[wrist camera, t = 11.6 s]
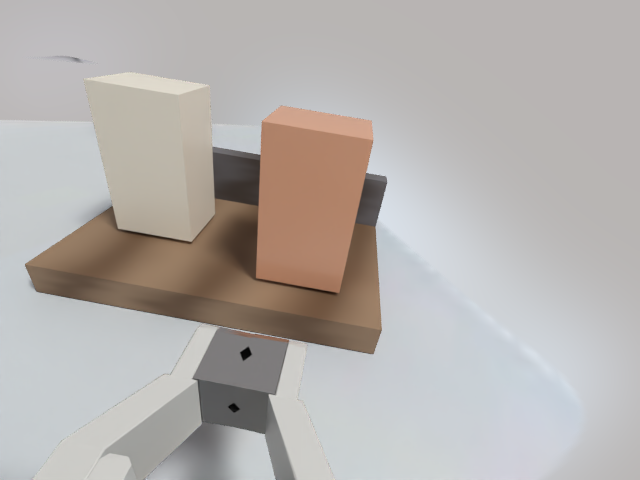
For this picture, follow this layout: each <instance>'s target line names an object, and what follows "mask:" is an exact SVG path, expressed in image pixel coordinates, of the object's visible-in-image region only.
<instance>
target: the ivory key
mask: <svg viewBox="0 0 640 480" xmlns="http://www.w3.org/2000/svg"><path fill="white" fill-rule="evenodd" d="M83 80H84V84H85V89H86V93H87V97H88V101H89V106H90V110H91V114H92V118H93V123H94V127H95V132H96V136H97V140H98V145H99V149H100V153H101V158H102V162H103V166H104V170H105V175H106V179H107V183H108V188H109V192H110V196H111V201H112V205H113V209H114V214H115V218H116V222H117V226H118V229H123V230H129V231H134V232H140V233H145V234H151V235H157V236H162V237H168V238H173V239H179V240H184V241H190V242H192V241H193V240H194V238H195V237H196V236H197V235H198V234H199V233H200V231H201V230H202V229H203V228H204V227H205V226H206V224H207V223H208V222H209V221H210V220H211V218H212V217H213V216H214V215H215V198H214V174H213V151H212V128H211V106H210V86H209V85H204V84H198V83H192V82H186V81H180V80H174V79H168V78H162V77H156V76H150V75H144V74H138V73H133V72H128V73H122V74H114V75H107V76H100V77H93V78H86V79H83Z"/></svg>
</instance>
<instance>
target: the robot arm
mask: <svg viewBox="0 0 640 480" xmlns="http://www.w3.org/2000/svg"><path fill="white" fill-rule="evenodd" d="M306 351H307V344H306V343H301V342H295V341H289V340H287V339H281V338H275V337H270V336H264V335H258V334H250V333H245V332H240V331H236V330H231V329H227V328H222V327H217V326H212V325H207V324H201V325H200V326H199V327H198V328H197V329H196V331H195V333H194V334H193V336H192V338H191V340H190V341H189V343H188V345H187V346H186V348H185V350H184V352H183V353H182V355H181V357H180V358H179V360H178V362H177V364H176V365H175V367H174V369H173V371H172V372H171V374H170V375H169V374H163V375H162V376H160V377H159V378H157V379H156V380H154V381H153V382H151V383H150V384H148V385H146V386H145V387H143V388H142V389H140V390H139V391H137V392H136V393H134V394H133V395H131V396H130V397H128V398H127V399H125V400H123V401H122V402H120V403H119V404H117V405H116V406H114V407H113V408H111V409H110V410H108V411H107V412H105V413H103V414H102V415H100V416H99V417H97V418H96V419H94V420H93V421H91V422H90V423H88V424H87V425H85V426H83V427H82V428H80V429H79V430H77V431H76V432H74V433H73V434H71V435H70V436H68V437H67V438H65V439H63V440H62V441H61V442H60V443H59V445H58V446H57V447H56V449H55V450H54V451H53V453H52V454H51V455H50V457H49V458H48V459H47V461H46V462H45V463H44V465H43V466H42V467H41V468H40V470H39V471H38V472H37V474H36V475H35V476H34V478H33V479H32V480H144V479H145V478H146V477H147V476H148V475H149V474H150V473H151V472H152V471H153V470H154V469H155V468H156V467H157V466H158V465H159V464H161V463H162V462H163V461H164V460H165V459H166V458H167V457H168V456H169V455H170V454H171V453H172V452H173V451H174V450H175V449H176V448H177V447H178V446H179V445H180V444H182V443H183V442H184V441H185V440H186V439H187V438H188V437H189V436H190V435H191V434H192V433H193V432H194V431H195V430H196V429H197V428H198V427H199V426H200V425H201V424H202V422H206V423H212V424H218V425H224V426H230V427H236V428H240V429H244V430H249V431H253V432H258V433H262V434H265V438H266V442H267V446H268V451H269V455H270V459H271V463H272V467H273V471H274V475H275V479H276V480H335V478H334V476H333V473H332V471H331V468H330V466H329V463H328V461H327V459H326V456H325V454H324V451H323V449H322V446H321V444H320V441H319V439H318V437H317V434H316V432H315V429H314V427H313V424H312V422H311V419H310V417H309V414H308V412H307V410H306V407H305V405H304V402H303V401H301V400H298V395H299V390H300V384H301V378H302V373H303V367H304V362H305V356H306Z"/></svg>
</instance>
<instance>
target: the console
mask: <svg viewBox="0 0 640 480" xmlns="http://www.w3.org/2000/svg"><path fill="white" fill-rule="evenodd" d="M212 151H213V174H214V198H215V215H214V216H213V217H212V218H211V220H210V221H209V222H208V223H207V224H206V226H205V227H204V228H203V229H202V230H201V231H200V233H199V234H198V235H197V236H196V237H195V238H194V240H193V241H192V242H190V241H184V240H179V239H173V238H168V237H162V236H157V235H151V234H145V233H140V232H134V231H129V230H123V229H118V226H117V222H116V218H115V214H114V209H113V206H112V207H110V208H109V209H107V210H106V211H104V212H103V213H101V214H100V215H98V216H97V217H95V218H94V219H92V220H91V221H89V222H88V223H86V224H85V225H83V226H82V227H80V228H79V229H77V230H76V231H74V232H73V233H71V234H70V235H68V236H67V237H65V238H64V239H62V240H61V241H59V242H58V243H56V244H55V245H53V246H52V247H50V248H49V249H47V250H46V251H44V252H43V253H41V254H40V255H38V256H37V257H35V258H34V259H32V260H31V261H29V262H28V263H26V264H25V266H26V269H27V271H28V273H29V275H30V278H31V280H32V282H33V284H34V287H35V289H36V291H37V292H42V293H48V294H53V295H58V296H64V297H69V298H75V299H80V300H85V301H91V302H96V303H101V304H107V305H112V306H118V307H123V308H128V309H134V310H139V311H144V312H150V313H155V314H161V315H166V316H171V317H177V318H182V319H187V320H193V321H198V322H204V323H209V324H214V325H220V326H225V327H230V328H236V329H241V330H247V331H252V332H257V333H263V334H268V335H273V336H279V337H284V338H290V339H295V340H300V341H306V342H311V343H316V344H322V345H327V346H333V347H338V348H343V349H349V350H354V351H359V352H365V353H370V354H374V351H375V348H376V345H377V342H378V339H379V336H380V334H381V331H382V327H381V311H380V294H379V278H378V261H377V245H376V228H375V226H376V223H377V219H378V215H379V211H380V207H381V204H382V200H383V196H384V192H385V188H386V184H387V178H386V177H385V176H380V175H374V174H368V173H366V175H365V180H364V184H363V189H362V193H361V198H360V202H359V207H358V211H357V216H356V220H355V225H354V229H353V234H352V238H351V243H350V247H349V252H348V256H347V261H346V265H345V270H344V274H343V279H342V283H341V288H340V292H339V293H336V292H331V291H325V290H320V289H314V288H309V287H303V286H298V285H292V284H287V283H281V282H276V281H270V280H265V279H259V278H256V263H257V237H258V210H259V184H260V158H261V155H258V154H252V153H246V152H240V151H235V150H229V149H223V148H217V147H212Z"/></svg>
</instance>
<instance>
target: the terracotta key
mask: <svg viewBox="0 0 640 480" xmlns="http://www.w3.org/2000/svg"><path fill="white" fill-rule="evenodd" d="M372 144H373V132H372V121H370V120H364V119H358V118H352V117H346V116H340V115H334V114H328V113H322V112H316V111H311V110H304V109H298V108H293V107H286V106H280V107H279V108H278V109H276V111H274V112H273V113H271V114H270V115H269V116H268V117H267V118H265V119H264V120H263V121H262V131H261V158H260V184H259V210H258V237H257V263H256V278H259V279H265V280H270V281H276V282H281V283H287V284H292V285H298V286H303V287H309V288H314V289H320V290H325V291H331V292H336V293H339V292H340V288H341V283H342V279H343V274H344V270H345V265H346V261H347V256H348V252H349V247H350V243H351V238H352V234H353V229H354V225H355V220H356V216H357V211H358V207H359V202H360V198H361V193H362V189H363V184H364V180H365V175H366V171H367V166H368V162H369V158H370V153H371V149H372Z"/></svg>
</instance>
